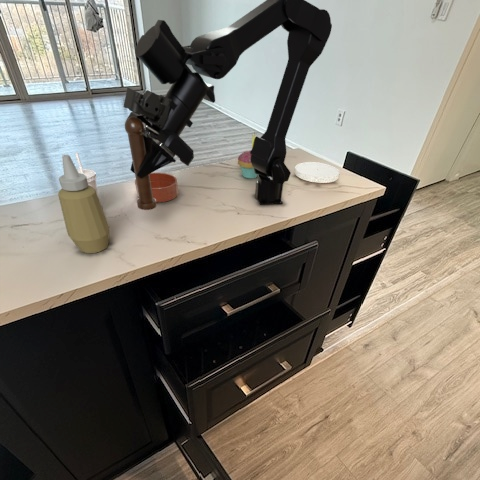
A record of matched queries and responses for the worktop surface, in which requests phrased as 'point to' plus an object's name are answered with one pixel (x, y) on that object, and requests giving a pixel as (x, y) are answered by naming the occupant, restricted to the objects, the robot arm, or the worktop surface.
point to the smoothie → (87, 174)
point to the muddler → (139, 162)
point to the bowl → (162, 186)
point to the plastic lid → (316, 172)
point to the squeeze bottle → (82, 210)
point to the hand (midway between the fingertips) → (135, 174)
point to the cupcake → (247, 163)
